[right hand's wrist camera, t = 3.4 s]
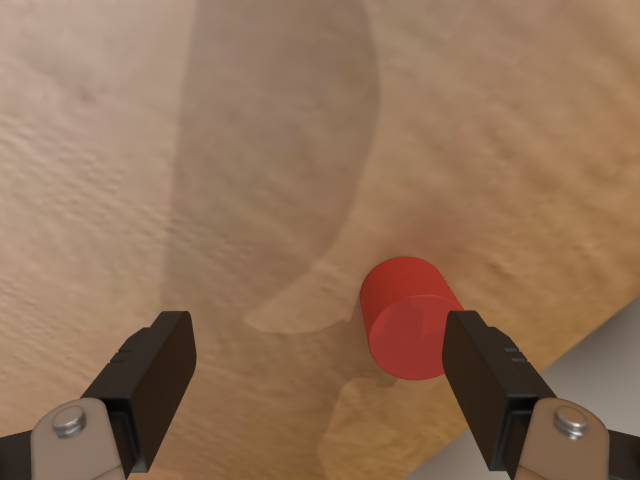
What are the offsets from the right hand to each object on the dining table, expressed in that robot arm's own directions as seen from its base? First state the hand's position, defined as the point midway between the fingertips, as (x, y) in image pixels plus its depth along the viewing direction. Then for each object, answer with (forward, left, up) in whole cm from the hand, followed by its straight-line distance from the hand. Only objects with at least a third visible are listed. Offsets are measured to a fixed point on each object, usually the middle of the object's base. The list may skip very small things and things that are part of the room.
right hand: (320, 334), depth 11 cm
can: (-5, +3, -9) cm, 10 cm away
